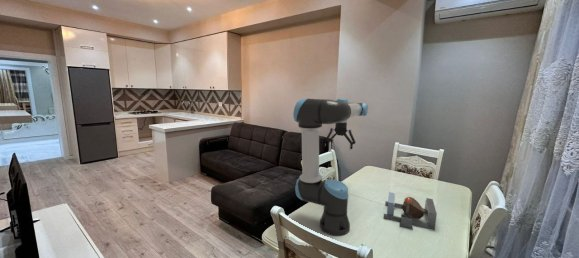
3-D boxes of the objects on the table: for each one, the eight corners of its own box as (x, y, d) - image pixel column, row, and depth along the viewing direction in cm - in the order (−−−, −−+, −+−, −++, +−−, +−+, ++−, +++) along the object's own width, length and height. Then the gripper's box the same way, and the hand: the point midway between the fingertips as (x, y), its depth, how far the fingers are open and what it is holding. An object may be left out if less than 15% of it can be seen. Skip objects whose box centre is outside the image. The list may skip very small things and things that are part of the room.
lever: (410, 222, 118) (412, 199, 116) (403, 220, 120) (405, 198, 118) (409, 218, 121) (412, 197, 119) (403, 217, 122) (405, 195, 120)
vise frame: (435, 235, 113) (437, 218, 112) (382, 222, 124) (384, 207, 122) (430, 213, 133) (432, 199, 132) (385, 204, 143) (386, 190, 142)
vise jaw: (393, 219, 127) (394, 203, 126) (386, 217, 128) (387, 202, 127) (393, 207, 140) (395, 193, 138) (387, 206, 141) (389, 192, 139)
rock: (430, 214, 123) (418, 207, 120) (415, 227, 126) (404, 220, 122) (415, 199, 134) (404, 191, 131) (402, 210, 137) (391, 203, 134)
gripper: (361, 122, 156) (359, 153, 159) (324, 120, 165) (323, 149, 169) (359, 123, 149) (357, 156, 152) (321, 121, 159) (320, 151, 162)
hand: (339, 152), depth 161 cm, fingers open, 13 cm apart
